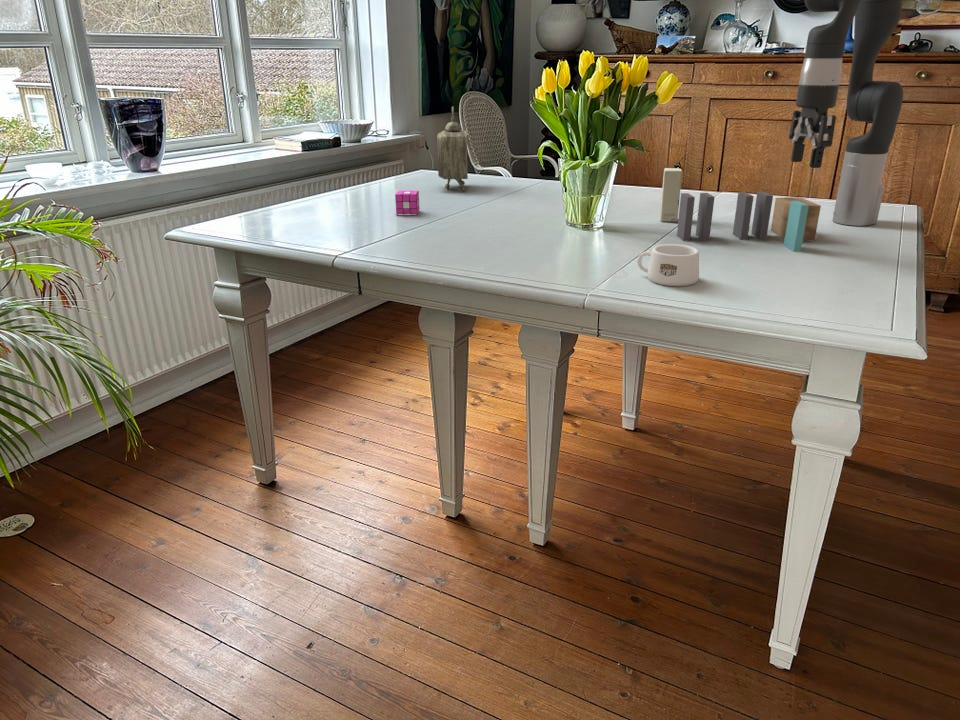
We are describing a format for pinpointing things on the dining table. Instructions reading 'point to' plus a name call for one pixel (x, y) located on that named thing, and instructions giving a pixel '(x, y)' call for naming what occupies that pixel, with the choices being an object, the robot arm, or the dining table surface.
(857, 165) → the robot arm
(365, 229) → the dining table surface
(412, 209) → the puzzle toy
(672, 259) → the mug
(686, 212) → the domino
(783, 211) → the end block
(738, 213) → the domino
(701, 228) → the domino
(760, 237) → the domino
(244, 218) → the dining table surface
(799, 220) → the domino
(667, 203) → the box
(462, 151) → the tabletop clock
